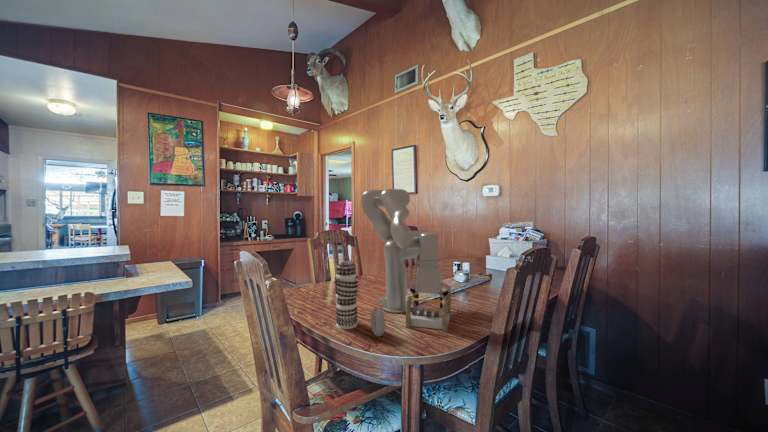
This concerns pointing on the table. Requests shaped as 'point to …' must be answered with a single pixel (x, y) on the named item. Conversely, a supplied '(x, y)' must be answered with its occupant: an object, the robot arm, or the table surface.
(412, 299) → the cord front
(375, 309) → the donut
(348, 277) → the decorative candle
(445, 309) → the cord posts
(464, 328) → the table surface
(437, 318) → the breaker panel
